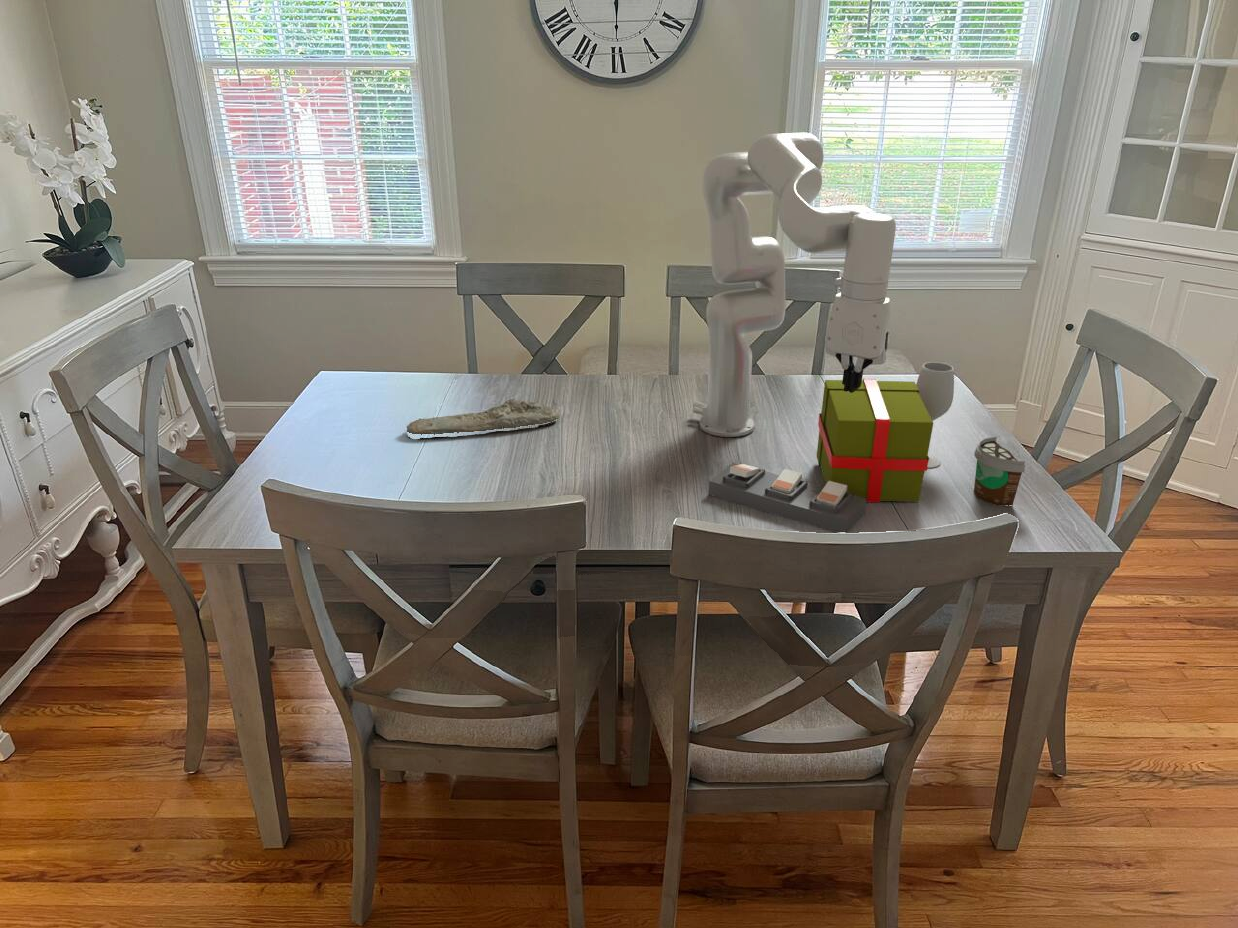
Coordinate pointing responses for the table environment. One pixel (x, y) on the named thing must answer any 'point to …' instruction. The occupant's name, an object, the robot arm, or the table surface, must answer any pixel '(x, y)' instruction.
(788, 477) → the rocker
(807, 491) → the power strip
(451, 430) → the elongated rock
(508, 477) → the table surface
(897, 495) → the gift box
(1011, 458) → the food container
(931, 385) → the wineglass
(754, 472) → the rocker
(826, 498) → the rocker
